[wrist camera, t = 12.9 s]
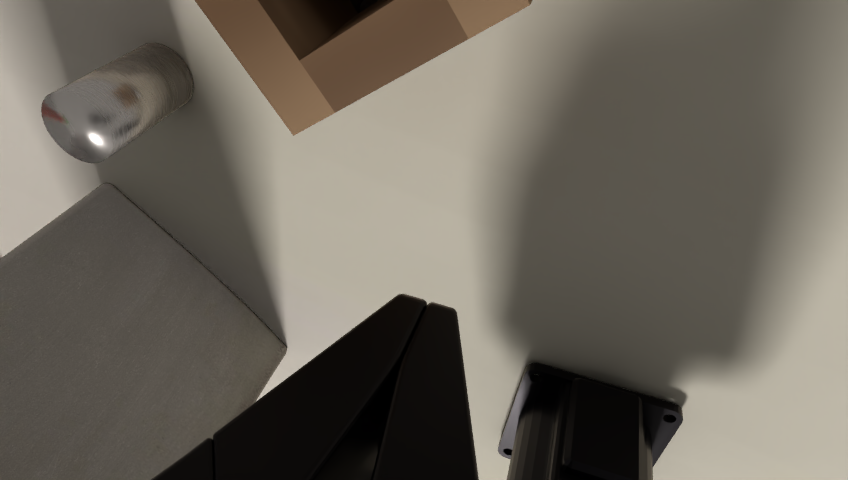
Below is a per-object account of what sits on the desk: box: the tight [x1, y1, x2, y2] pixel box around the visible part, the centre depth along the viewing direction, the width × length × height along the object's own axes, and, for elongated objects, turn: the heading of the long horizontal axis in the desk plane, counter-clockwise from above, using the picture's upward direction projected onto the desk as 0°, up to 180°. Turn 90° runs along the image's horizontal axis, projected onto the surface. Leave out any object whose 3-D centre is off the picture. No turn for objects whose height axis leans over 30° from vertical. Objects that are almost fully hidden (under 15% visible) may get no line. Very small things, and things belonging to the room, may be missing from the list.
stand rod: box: [41, 43, 194, 163], centre depth 21 cm, size 2×2×4 cm
